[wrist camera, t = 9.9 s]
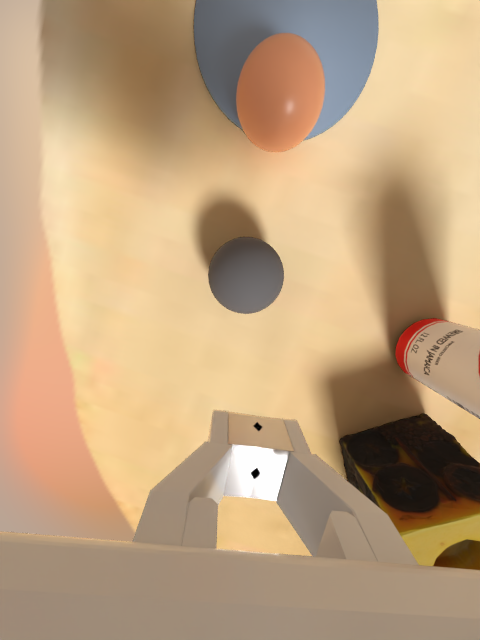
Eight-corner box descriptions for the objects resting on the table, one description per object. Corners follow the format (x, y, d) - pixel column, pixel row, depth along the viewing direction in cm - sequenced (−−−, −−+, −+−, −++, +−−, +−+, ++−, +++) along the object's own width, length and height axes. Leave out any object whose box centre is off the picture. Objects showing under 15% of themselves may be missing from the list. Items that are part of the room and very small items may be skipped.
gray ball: (201, 323, 20) (211, 275, 24) (274, 333, 20) (272, 284, 24) (204, 263, 15) (216, 216, 19) (297, 277, 16) (290, 228, 19)
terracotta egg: (227, 161, 19) (237, 107, 20) (302, 178, 19) (306, 123, 21) (235, 60, 13) (249, -4, 15) (342, 88, 13) (343, 22, 15)
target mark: (208, -115, 16) (208, -119, 16) (401, -55, 18) (403, -58, 17) (183, 122, 19) (183, 120, 19) (348, 159, 21) (349, 158, 20)
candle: (424, 410, 27) (536, 494, 17) (432, 481, 29) (534, 590, 20) (336, 435, 27) (396, 532, 17) (351, 503, 29) (411, 622, 20)
